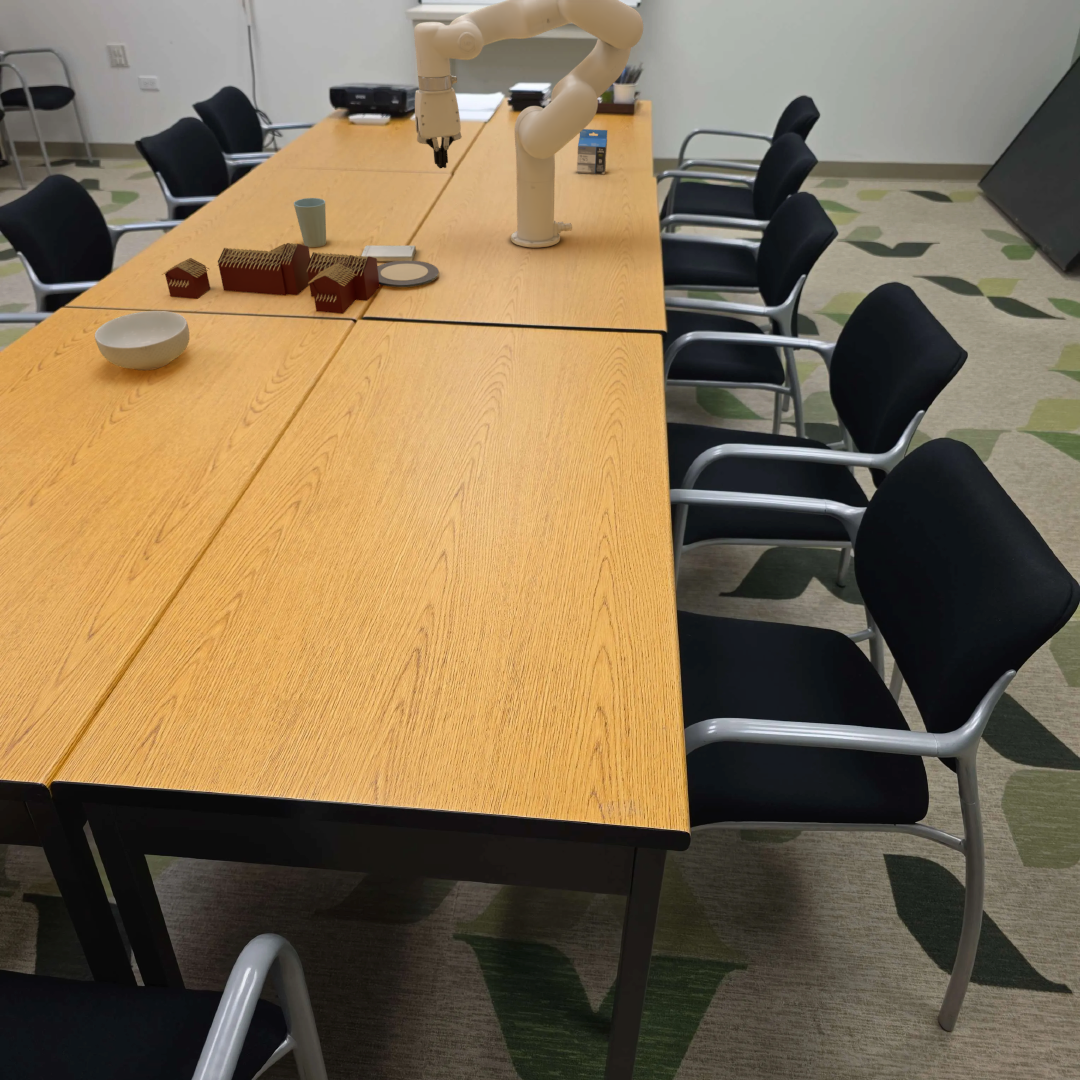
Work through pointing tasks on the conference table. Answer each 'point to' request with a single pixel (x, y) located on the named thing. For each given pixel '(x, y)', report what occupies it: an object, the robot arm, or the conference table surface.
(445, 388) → the conference table surface
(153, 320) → the cereal bowl
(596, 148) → the ink cartridge box
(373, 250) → the hard drive
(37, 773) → the conference table surface
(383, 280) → the plate
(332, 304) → the toy houses
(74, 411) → the conference table surface
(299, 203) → the cup
